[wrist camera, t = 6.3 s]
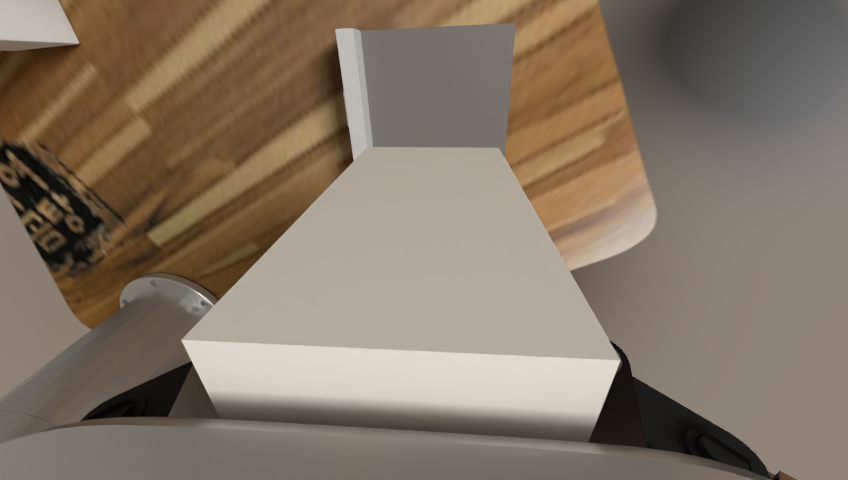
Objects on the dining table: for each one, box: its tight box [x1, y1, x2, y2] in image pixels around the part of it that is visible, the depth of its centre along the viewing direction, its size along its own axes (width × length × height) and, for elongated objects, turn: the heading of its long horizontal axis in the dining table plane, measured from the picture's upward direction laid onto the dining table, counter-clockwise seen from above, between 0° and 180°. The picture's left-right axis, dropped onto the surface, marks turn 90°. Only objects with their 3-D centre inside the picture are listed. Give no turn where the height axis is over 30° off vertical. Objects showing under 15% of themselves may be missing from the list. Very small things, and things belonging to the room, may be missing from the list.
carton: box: [182, 147, 621, 443], centre depth 10 cm, size 7×5×10 cm
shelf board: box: [335, 23, 515, 160], centre depth 27 cm, size 20×12×4 cm, turn 2°
